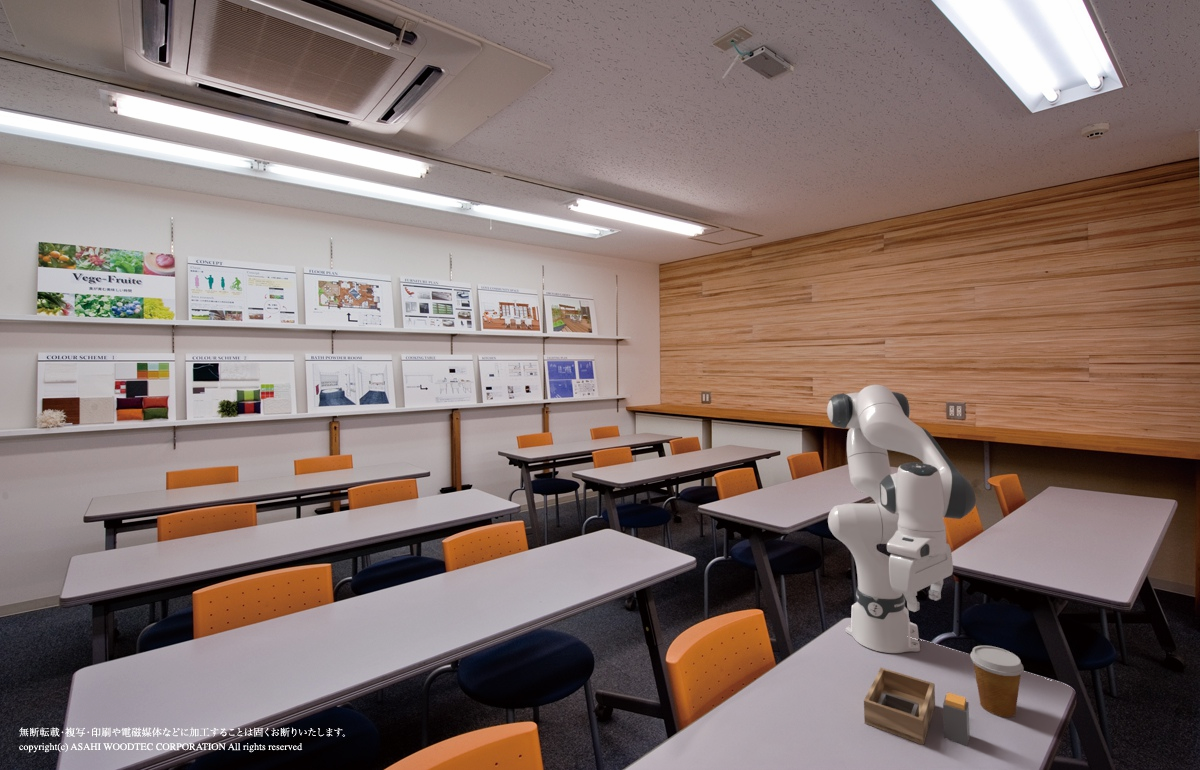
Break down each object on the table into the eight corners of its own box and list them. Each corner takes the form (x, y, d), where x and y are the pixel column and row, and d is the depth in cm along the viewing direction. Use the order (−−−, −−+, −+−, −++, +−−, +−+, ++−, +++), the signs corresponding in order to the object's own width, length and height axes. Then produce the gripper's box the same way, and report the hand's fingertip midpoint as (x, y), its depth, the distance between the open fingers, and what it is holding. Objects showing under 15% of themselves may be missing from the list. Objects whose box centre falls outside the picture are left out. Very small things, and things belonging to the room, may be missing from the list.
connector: (946, 727, 110) (945, 690, 110) (969, 735, 108) (968, 697, 107) (944, 737, 107) (942, 699, 107) (967, 746, 104) (966, 707, 104)
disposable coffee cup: (1009, 697, 119) (1007, 645, 119) (1035, 724, 110) (1033, 668, 110) (963, 693, 121) (961, 643, 121) (984, 720, 112) (983, 665, 112)
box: (881, 687, 125) (880, 667, 124) (935, 705, 117) (934, 683, 117) (864, 723, 112) (863, 700, 112) (923, 745, 105) (922, 720, 105)
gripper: (929, 528, 119) (931, 588, 119) (882, 545, 108) (884, 611, 107) (960, 534, 114) (962, 597, 113) (913, 552, 102) (916, 622, 102)
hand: (924, 604), depth 110 cm, fingers open, 8 cm apart
